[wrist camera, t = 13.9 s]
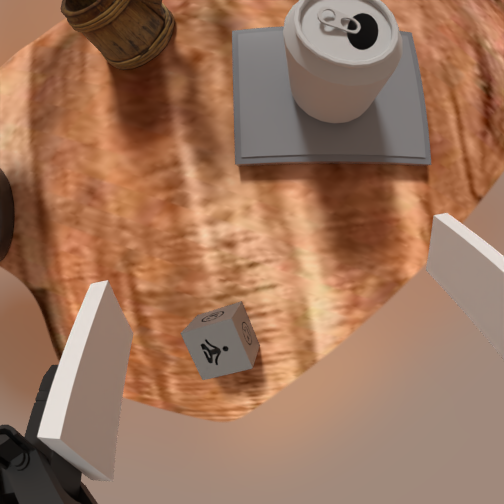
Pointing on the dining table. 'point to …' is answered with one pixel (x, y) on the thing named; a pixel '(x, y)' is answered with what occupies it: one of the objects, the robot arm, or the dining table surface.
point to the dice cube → (221, 341)
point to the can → (340, 55)
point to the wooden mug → (122, 28)
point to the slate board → (311, 129)
